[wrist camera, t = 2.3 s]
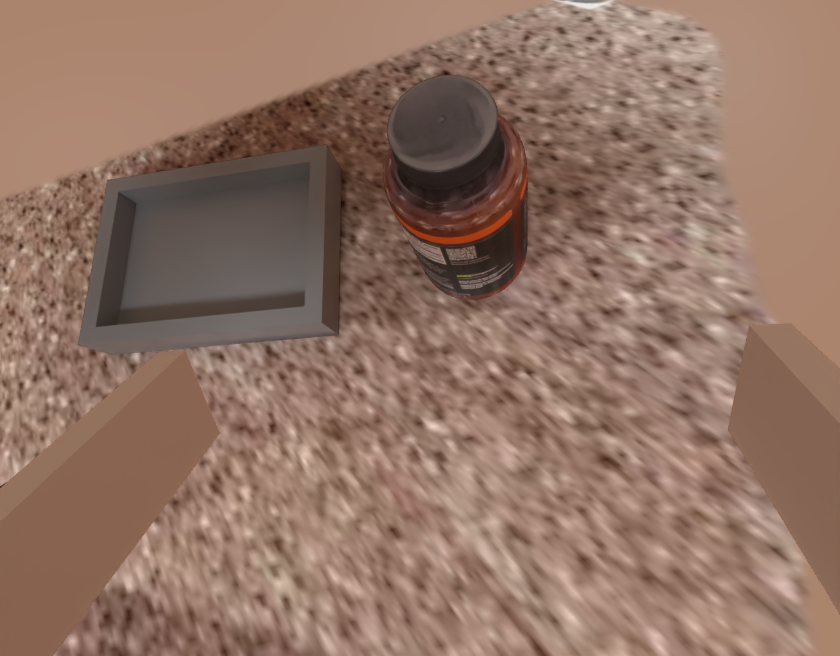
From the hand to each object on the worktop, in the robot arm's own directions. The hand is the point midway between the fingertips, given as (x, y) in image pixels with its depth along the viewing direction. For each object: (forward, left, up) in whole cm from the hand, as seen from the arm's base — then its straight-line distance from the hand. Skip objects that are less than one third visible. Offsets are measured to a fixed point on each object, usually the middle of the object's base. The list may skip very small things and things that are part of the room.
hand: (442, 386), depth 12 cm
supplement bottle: (-9, +3, -14) cm, 17 cm away
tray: (-15, -11, -14) cm, 24 cm away
